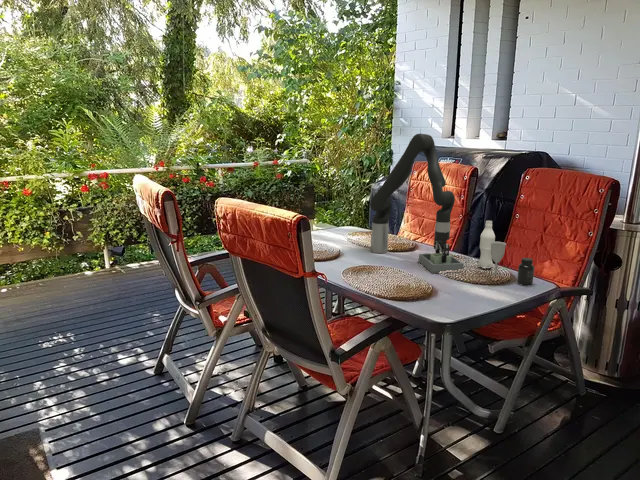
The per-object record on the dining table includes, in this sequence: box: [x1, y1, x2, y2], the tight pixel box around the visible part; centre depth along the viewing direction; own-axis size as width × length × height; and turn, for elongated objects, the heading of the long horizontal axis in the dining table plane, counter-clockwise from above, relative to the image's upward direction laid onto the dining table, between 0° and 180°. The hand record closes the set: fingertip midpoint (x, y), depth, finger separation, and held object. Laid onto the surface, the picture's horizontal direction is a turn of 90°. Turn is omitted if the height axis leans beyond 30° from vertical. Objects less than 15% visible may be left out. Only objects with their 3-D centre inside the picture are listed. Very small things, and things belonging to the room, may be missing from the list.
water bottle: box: [477, 220, 496, 268], centre depth 249 cm, size 7×7×25 cm
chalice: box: [490, 241, 507, 276], centre depth 233 cm, size 7×7×18 cm
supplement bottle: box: [516, 257, 535, 286], centre depth 228 cm, size 7×7×12 cm
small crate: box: [429, 252, 452, 264], centre depth 254 cm, size 9×6×6 cm, turn 99°
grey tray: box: [418, 253, 464, 275], centre depth 254 cm, size 16×20×4 cm
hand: (440, 260), depth 254 cm, fingers open, 8 cm apart
